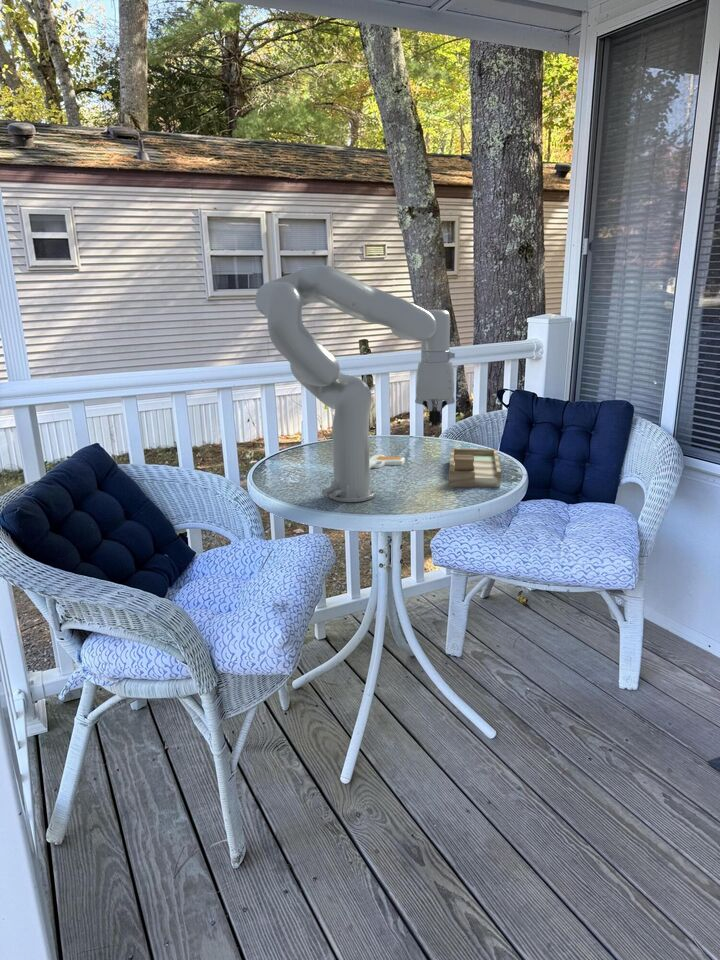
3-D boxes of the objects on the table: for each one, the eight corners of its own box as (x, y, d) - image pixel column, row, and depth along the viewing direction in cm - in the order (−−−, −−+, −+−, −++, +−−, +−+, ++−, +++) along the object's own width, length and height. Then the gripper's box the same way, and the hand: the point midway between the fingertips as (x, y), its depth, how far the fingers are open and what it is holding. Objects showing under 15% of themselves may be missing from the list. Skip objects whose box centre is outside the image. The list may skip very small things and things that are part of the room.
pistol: (383, 480, 185) (348, 476, 190) (408, 462, 202) (375, 459, 207) (383, 472, 184) (348, 468, 189) (408, 455, 202) (375, 452, 206)
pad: (493, 468, 192) (494, 461, 191) (473, 468, 193) (473, 460, 192) (493, 463, 198) (493, 455, 197) (473, 463, 199) (473, 455, 198)
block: (472, 477, 176) (473, 459, 174) (454, 476, 177) (454, 459, 175) (472, 472, 181) (473, 454, 179) (454, 471, 181) (455, 454, 180)
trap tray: (500, 488, 174) (501, 473, 173) (448, 486, 176) (449, 471, 175) (496, 462, 198) (496, 449, 197) (450, 461, 201) (451, 448, 199)
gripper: (463, 355, 173) (462, 422, 178) (408, 356, 175) (408, 421, 181) (463, 358, 166) (461, 427, 171) (406, 359, 168) (406, 427, 174)
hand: (434, 424), depth 176 cm, fingers closed
